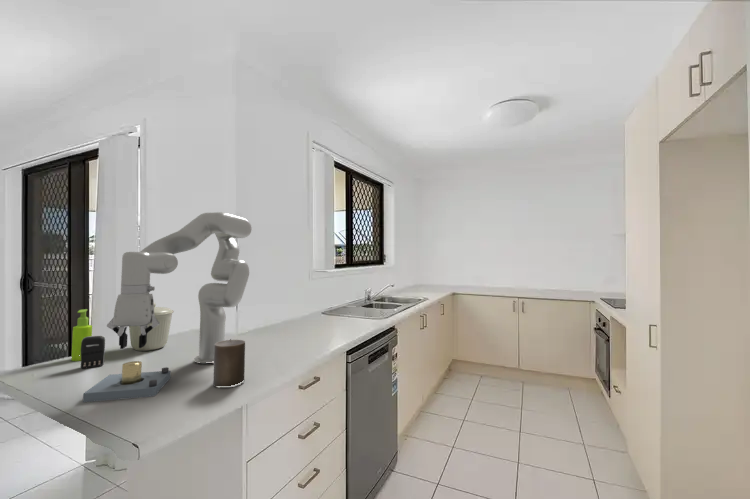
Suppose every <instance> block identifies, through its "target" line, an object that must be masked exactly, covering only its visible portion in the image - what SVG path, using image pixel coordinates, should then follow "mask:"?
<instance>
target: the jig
mask: <svg viewBox="0 0 750 499" xmlns="http://www.w3.org/2000/svg"><path fill="white" fill-rule="evenodd" d="M169 369H170V368H169V367H167V366H166V367H162V368H161V370H160V371H159V370H158V371H145V372H142V371H141V382H138V383H135V384H130V385H121V384H122V373H117V374H116V373H114V374H109V375H107V376H106V377H104V378H103V379H101V380H100V381H98V383H96V384H94V385H93V386H92V387H90V388H88V389H87V390H86V391H85V392H83V395H82V403H89V402H90V403H91V402H102V401H111V400H112V401H114V400H115V401H116V400H126V399H137V398H149V397H150V398H151V397H155V396H156V395H157V394H158V393H159V392H160V391H161V390H162V388H163V387H164V386H165V385H166V384H167V383H168V382H169V381H170V379H171V372H172V371H171V370H169Z"/></svg>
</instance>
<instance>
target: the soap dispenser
mask: <svg viewBox="0 0 750 499" xmlns="http://www.w3.org/2000/svg"><path fill="white" fill-rule="evenodd" d="M87 311H88V309H87V308H85V309H84V308H83V309H79V310H78V311H77V314H80V316H79V317H78V318H77V325H75V326H73V327H72V336H71V338H72V340H71V342H72V343H71V356H70V357H72V358H71V362H81V342H82V340H83V338H85V337H89V336H93V325H91V324H89V321H90V320H89V317H88V316H87ZM79 355H80V356H79Z"/></svg>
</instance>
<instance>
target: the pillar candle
mask: <svg viewBox="0 0 750 499" xmlns="http://www.w3.org/2000/svg"><path fill="white" fill-rule="evenodd" d="M245 354H246V341H245V340H244V339H232V338H230V339H227V340H226V339H225V341H221V342H217V343H215V351H214V363H213V381H212V383H213V386H214V385H215V386H231V385H235V384H238V383H240V382H242V381H243V380H244V381H245V367H246V364H245V362H246V360H245V359H246V355H245Z"/></svg>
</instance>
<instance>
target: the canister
mask: <svg viewBox="0 0 750 499" xmlns="http://www.w3.org/2000/svg"><path fill="white" fill-rule="evenodd" d="M156 305H157V304H156V302H154V316H155V317H156V319H157V320H158V321H159V323H160V324H159V325H158V326H156V327H154V328H153V329H152V330H151V331H149V332H148V333H147V343H146V344H145V346H144V347H142V348H139V336H140V335H141V330H140V326H128V329H129V332H128V333H129V340H130V346H131V348H132V349H133V350H134V351H137V352H138V351H139V352H141V351H142V352H147V351H154V350H158V349H162V348H163V347H165V346H167V343H168V339H169V334H170V330H171V329H170V328H171V322H172V315H173V313H174V312H175V310H173V309H171V308H169V307H164V306H163V307H161V306H156ZM152 324H153V323H150V324H148V325H147V326H148V327H149V326H151V325H152Z"/></svg>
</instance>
